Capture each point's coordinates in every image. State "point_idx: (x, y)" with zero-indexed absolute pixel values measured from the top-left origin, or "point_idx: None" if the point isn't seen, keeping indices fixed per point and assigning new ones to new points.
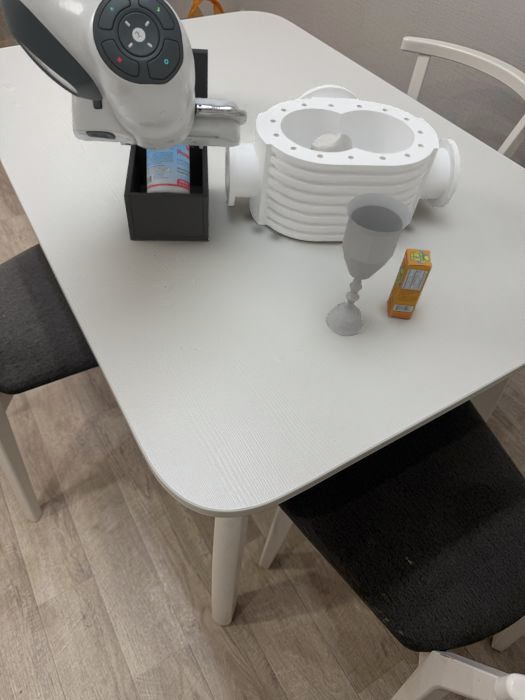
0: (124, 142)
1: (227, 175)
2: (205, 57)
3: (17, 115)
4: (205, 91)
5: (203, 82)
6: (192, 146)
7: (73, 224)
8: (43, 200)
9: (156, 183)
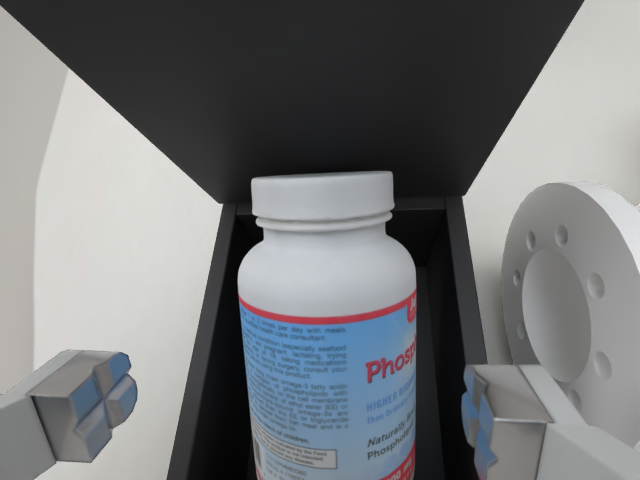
0: (58, 457)
1: (526, 290)
2: None
3: (81, 81)
4: (556, 23)
5: None
6: (476, 468)
7: None
8: (67, 320)
9: None
